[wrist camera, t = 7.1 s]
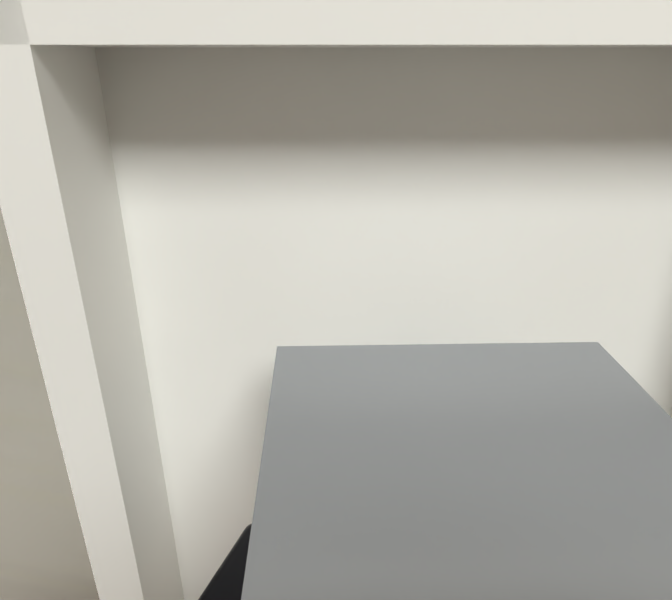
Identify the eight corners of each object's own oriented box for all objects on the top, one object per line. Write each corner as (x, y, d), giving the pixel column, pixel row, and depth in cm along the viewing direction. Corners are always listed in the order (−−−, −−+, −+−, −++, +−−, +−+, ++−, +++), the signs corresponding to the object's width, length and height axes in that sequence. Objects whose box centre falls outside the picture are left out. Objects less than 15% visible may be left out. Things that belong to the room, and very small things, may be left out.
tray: (57, -7, 9) (-61, -36, 6) (795, -6, 9) (1003, -33, 6) (172, 627, 15) (139, 756, 12) (611, 615, 15) (675, 738, 12)
